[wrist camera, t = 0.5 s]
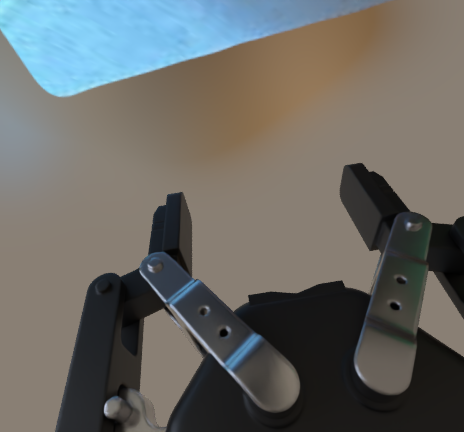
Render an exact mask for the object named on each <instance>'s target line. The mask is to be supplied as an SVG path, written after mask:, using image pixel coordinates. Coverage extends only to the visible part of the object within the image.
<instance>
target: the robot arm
mask: <svg viewBox="0 0 464 432" xmlns="http://www.w3.org/2000/svg"><path fill="white" fill-rule="evenodd" d="M340 197H341V201H342V203H343V205H344V206H345V208H346V210H347V212H348V213H349V215H350V217H351V218H352V221H353V222H354V224H355V226H356V227H357V229H358V231H359V233H360V235H361V236H362V238H363V240H364V242H365V243H366V245H367V247H368V249H369V250H370V251H373V250H378V249H379V250H380V252H381V255H380V258H379V261H378V264H377V268H376V271H375V274H374V277H373V280H372V283H371V287H370V290H369V292H368V294H367V293H365V292H362V291H360V290H356V289H353V288H346V287H345V286H344V283H343V281H335V282H330V283H322V284H318V285H316V286H313V287H311V288H309V289H306V290H304V291H302V292H299V293H282V292H266V293H260V294H253V295H248V297H249V302H248V303H246V304H244V305H242V306H240V307H239V308H238V309H236V310H235V311H234V312H233V311H232V310H231V309H230V308H229V307H228V306H227V305H226V304H225V303H224V302H222V301H221V300H220V299H219V298H218V297H217V296H216V295H215V294H214V293H213V292H212V291H211V290H210V289H209V288H208V287H207V286H206V285H205V284H204V283H202V282H201V281H200V280H198V279H196V280H194V279H193V278H192V221H191V216H190V212H189V209H188V207H187V203H186V200H185V197H184V194H183V192H180V193H174V194H168V195H167V202H166V205H164V206H159V207H158V208H157V210H156V212H155V213H154V216H153V224H152V231H151V238H150V245H149V253H148V256H147V257H146V258H145V259H144V260H143V261H142V263H141V265H140V267H139V268H138V269H136V270H135V271H133V272H130V273H128V274H126V275H124V276H122V277H119V276H118V275H117V274H115V273H106V274H103V275H101V276H99V277H97V278H96V279H95V280H94V281H93V282H92V283H91V284H90V286H89V288H88V290H87V295H86V299H85V303H84V308H83V312H82V316H81V321H80V325H79V329H78V334H77V338H76V343H75V347H74V351H73V356H72V360H71V364H70V369H69V373H68V377H67V382H66V386H65V391H64V395H63V399H62V404H61V408H60V412H59V417H58V421H57V426H56V430H55V432H464V357H463V356H461V355H460V354H458V353H457V352H455V351H454V350H452V349H451V348H449V347H448V346H446V345H445V344H443V343H441V342H440V341H439V340H437V339H436V338H434V337H433V336H431V335H430V334H428V333H427V332H425V331H424V330H422V329H421V328H419V327H418V324H419V318H420V313H421V307H422V301H423V296H424V291H425V285H426V280H427V274H428V271H433V272H434V273H435V275H436V277H437V278H438V280H439V281H440V283H441V285H442V286H443V288H444V289H445V291H446V292H447V294H448V295H449V297H450V298H451V300H452V302H453V303H454V305H455V306H456V308H457V309H458V311H459V313H460V314H461V316H462V317H463V319H464V216H463V217H460V218H458V219H457V220H456V221H455V223H454V224H453V225H449V224H438V223H431V222H430V221H429V219H427V218H426V217H425V216H423V215H421V214H418V213H415V212H410V210H409V209H408V208H407V207H406V205H405V204H404V203H403V202H402V200H401V199H400V198H399V197H398V196H397V194H396V193H395V192H393V189H392V188H391V187H390V186H389V184H388V183H387V182H386V180H385V179H384V178H383V177H382V176H380V175H379V174H377V173H376V172H374V171H372V172H369V171H368V170H367V169H366V167H365V166H364V165H363V164H362V163H357V164H351V165H345V166H344V169H343V174H342V180H341V186H340ZM161 309H164V311H165V312H166V313H167V314H168V315H169V316H170V318H171V319H172V320H173V321H174V323H175V324H176V325H177V326H178V327H179V329H180V330H181V331H182V332H183V333H184V335H185V336H186V337H187V339H188V340H189V341H190V343H191V344H192V345H193V347H194V348H195V349H196V350H197V352H198V353H199V354H200V355H201V356H202V358H203V361H202V362H201V364H200V366H199V368H198V369H197V371H196V373H195V374H194V376H193V378H192V379H191V381H190V383H189V385H188V386H187V388H186V390H185V391H184V393H183V395H182V396H181V398H180V400H179V402H178V403H177V405H176V406H175V408H174V410H173V412H172V414H171V416H170V418H169V421H168V424H167V427H159V426H158V424H157V422H156V419H155V412H154V407H153V404H152V403H151V401H150V400H149V399H148V398H146V397H145V396H144V395H142V394H141V393H140V392H139V389H140V375H141V360H142V342H143V326H144V318H145V317H147V316H149V315H150V314H153V313H155V312H157V311H159V310H161Z"/></svg>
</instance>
